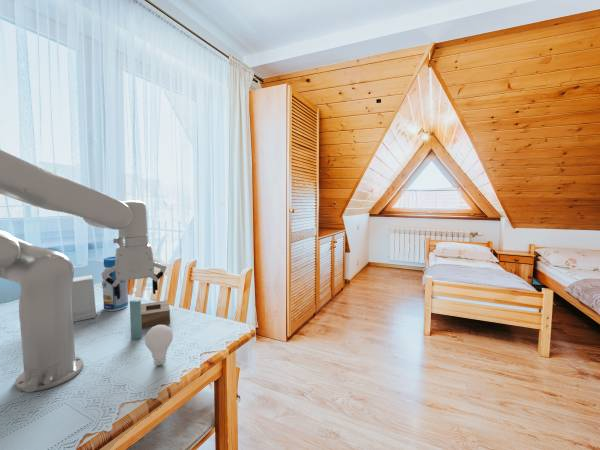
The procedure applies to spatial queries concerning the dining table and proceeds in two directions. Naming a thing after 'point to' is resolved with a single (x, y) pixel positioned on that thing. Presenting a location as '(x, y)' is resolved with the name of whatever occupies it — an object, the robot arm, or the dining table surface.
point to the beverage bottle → (108, 290)
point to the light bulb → (159, 342)
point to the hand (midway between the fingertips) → (137, 295)
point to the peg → (135, 319)
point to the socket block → (155, 314)
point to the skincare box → (83, 298)
